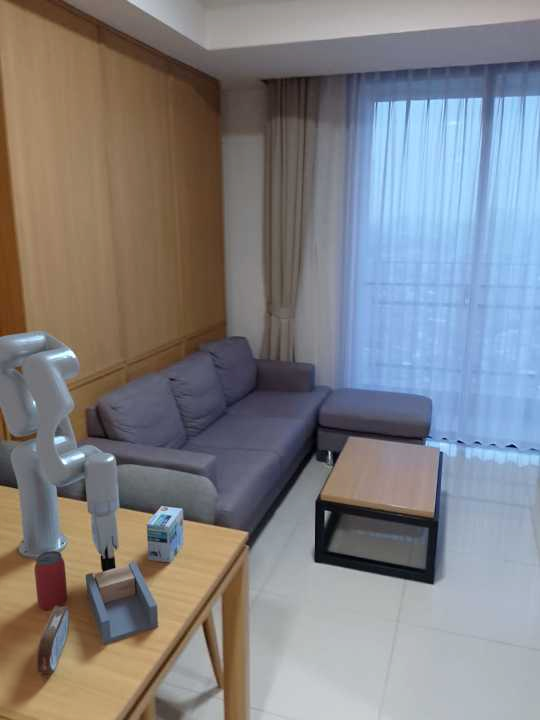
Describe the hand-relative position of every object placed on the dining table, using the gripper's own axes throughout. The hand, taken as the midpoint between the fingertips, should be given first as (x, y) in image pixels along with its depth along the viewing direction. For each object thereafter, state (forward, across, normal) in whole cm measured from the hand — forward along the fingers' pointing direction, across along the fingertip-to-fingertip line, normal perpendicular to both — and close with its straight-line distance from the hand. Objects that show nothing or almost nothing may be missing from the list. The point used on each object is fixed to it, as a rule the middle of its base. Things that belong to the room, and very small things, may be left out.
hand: (108, 569), depth 142 cm
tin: (+3, +22, -16) cm, 27 cm away
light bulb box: (+3, -5, +17) cm, 18 cm away
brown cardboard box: (+1, +8, 0) cm, 8 cm away
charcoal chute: (+3, +14, 0) cm, 14 cm away
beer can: (+3, +3, -14) cm, 15 cm away
